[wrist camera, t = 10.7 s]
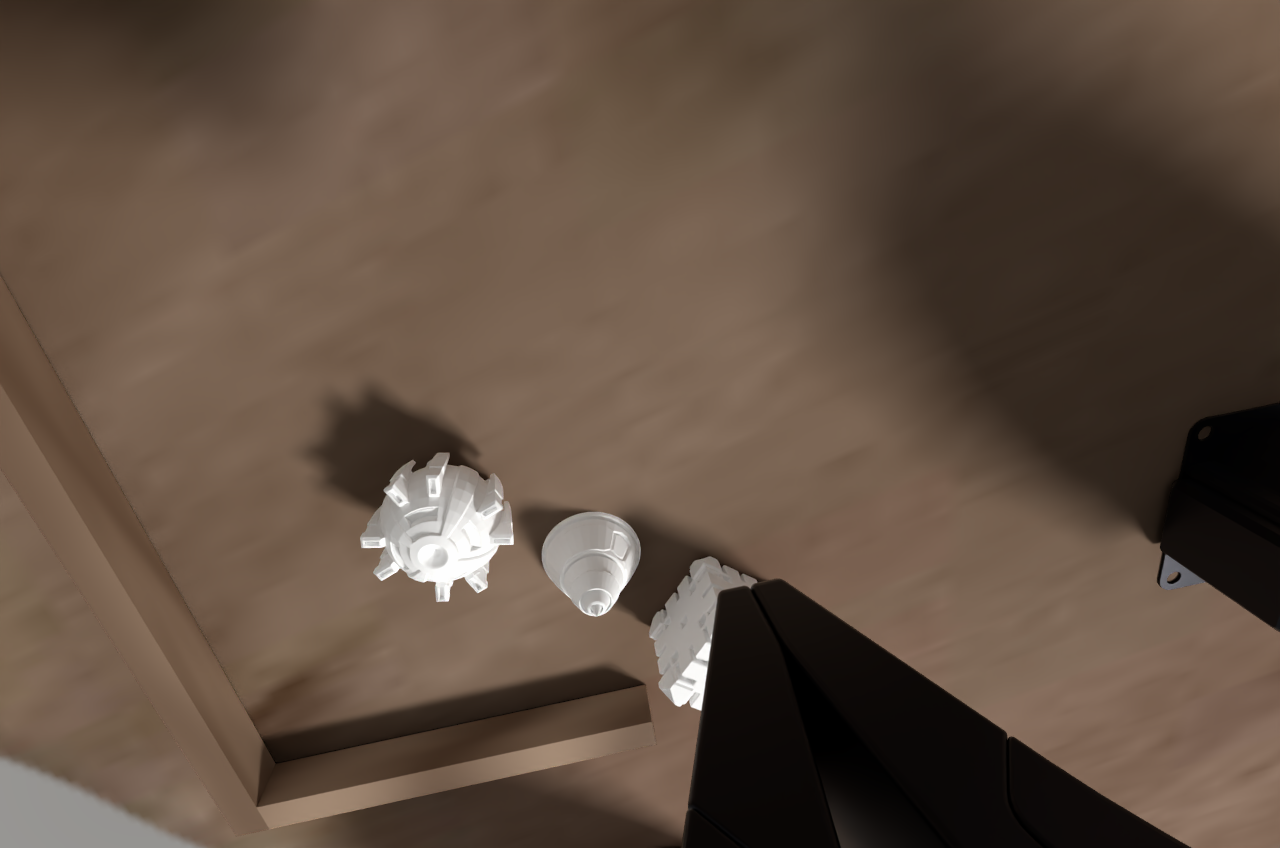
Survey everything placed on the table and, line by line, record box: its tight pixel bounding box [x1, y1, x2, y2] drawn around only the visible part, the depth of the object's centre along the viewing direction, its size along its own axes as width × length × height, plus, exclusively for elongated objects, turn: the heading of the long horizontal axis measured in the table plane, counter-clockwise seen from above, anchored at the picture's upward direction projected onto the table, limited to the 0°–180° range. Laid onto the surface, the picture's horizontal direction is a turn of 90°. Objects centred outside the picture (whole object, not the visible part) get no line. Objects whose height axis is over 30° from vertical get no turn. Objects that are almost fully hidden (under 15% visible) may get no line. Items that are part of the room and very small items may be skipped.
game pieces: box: [360, 453, 758, 710], centre depth 18 cm, size 12×3×3 cm, turn 59°
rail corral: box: [0, 275, 657, 836], centre depth 16 cm, size 13×23×2 cm, turn 9°
